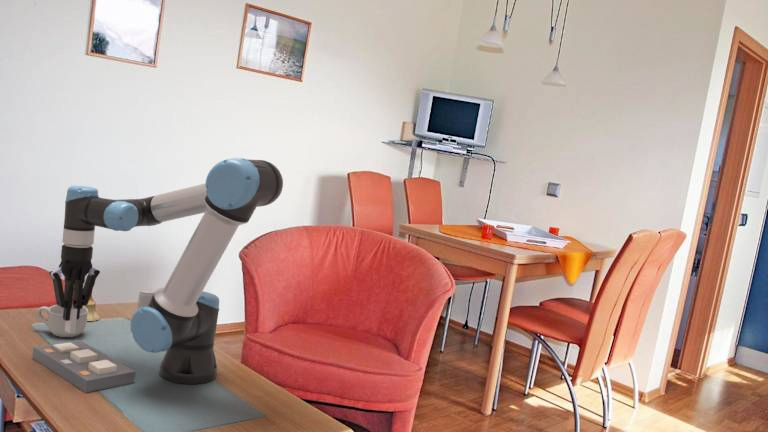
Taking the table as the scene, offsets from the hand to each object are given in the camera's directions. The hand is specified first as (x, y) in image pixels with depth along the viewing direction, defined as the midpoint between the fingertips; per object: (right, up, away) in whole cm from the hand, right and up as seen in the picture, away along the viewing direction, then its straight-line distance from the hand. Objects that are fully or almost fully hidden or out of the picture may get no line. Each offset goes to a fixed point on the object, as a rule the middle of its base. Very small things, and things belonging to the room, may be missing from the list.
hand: (69, 331), depth 181 cm
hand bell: (-12, -2, +38) cm, 40 cm away
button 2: (+13, -9, -10) cm, 18 cm away
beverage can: (+6, -5, +38) cm, 38 cm away
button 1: (-2, -6, +1) cm, 6 cm away
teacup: (-12, -4, +20) cm, 24 cm away
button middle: (+6, -7, -5) cm, 10 cm away
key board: (+5, -9, -4) cm, 11 cm away
